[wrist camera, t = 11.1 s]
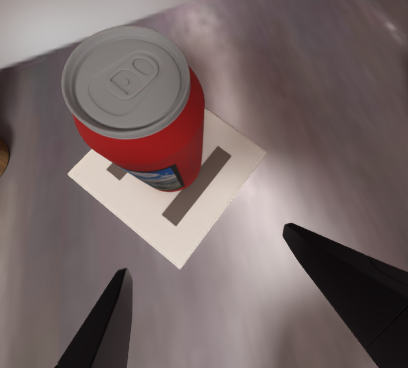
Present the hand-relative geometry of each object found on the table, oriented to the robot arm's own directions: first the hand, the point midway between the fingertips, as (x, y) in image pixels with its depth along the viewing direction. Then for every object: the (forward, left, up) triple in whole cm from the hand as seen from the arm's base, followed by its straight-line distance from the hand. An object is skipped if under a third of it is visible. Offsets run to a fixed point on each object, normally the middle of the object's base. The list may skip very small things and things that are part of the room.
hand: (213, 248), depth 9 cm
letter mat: (+4, +8, -9) cm, 12 cm away
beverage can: (+4, +8, -9) cm, 12 cm away
